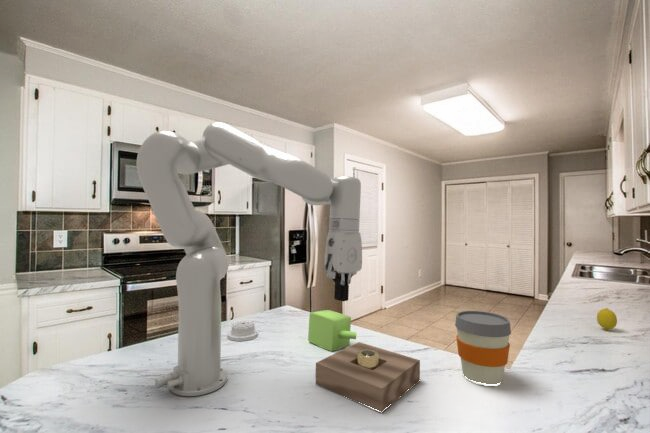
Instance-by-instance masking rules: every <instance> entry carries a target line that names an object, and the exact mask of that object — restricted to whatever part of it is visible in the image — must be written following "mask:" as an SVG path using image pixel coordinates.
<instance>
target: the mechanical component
mask: <svg viewBox="0 0 650 433" xmlns="http://www.w3.org/2000/svg"><path fill="white" fill-rule="evenodd" d="M258 336H259V331H258V329H256V328H255V322H254V321H250V320H241V321H236V322H233V323H232V324H231V330H230V331H228V332H227V339H228V340H230V341H233V342H246V341H251V340H254V339H256V338H257V337H258Z"/></svg>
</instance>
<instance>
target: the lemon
mask: <svg viewBox="0 0 650 433" xmlns="http://www.w3.org/2000/svg"><path fill="white" fill-rule="evenodd" d="M617 318H618V317H617V315H616V314H615V312H614V311H613V310H611V309H609V308H608V307H605V308H603V309H602V308H601V309H600V310H599V311H598V312H597V315H596V321H597V322H596V323H597V324H598V325H599V326H600V327H601V328H603V329H604V330H605V329H606V330H605V331H609V330H612V329H614V328H616V326H617V324H618V319H617Z"/></svg>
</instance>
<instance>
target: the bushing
mask: <svg viewBox="0 0 650 433" xmlns="http://www.w3.org/2000/svg"><path fill="white" fill-rule="evenodd" d="M378 358H379V354H378V352H376V351H374V350H369V349H364V350H360V351H358V365H359V366H362V367H365V368H368V369H370V370H374V369H376V368H377V367H378Z"/></svg>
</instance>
